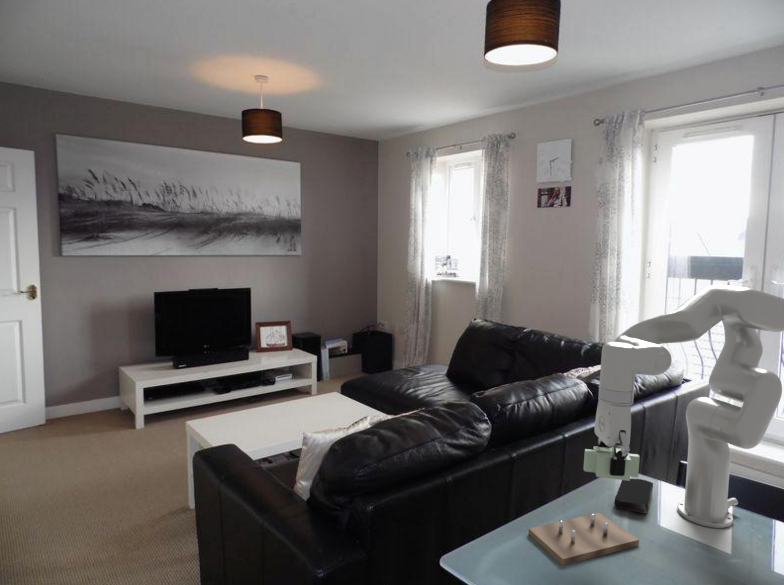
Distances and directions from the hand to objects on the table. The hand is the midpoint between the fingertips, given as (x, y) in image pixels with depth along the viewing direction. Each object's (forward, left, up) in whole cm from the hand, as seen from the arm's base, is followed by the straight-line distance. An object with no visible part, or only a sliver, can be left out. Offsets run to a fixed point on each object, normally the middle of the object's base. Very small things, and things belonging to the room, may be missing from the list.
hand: (610, 467), depth 124 cm
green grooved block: (0, 0, -1) cm, 1 cm away
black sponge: (-21, -13, -19) cm, 31 cm away
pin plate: (+5, -2, -19) cm, 19 cm away
